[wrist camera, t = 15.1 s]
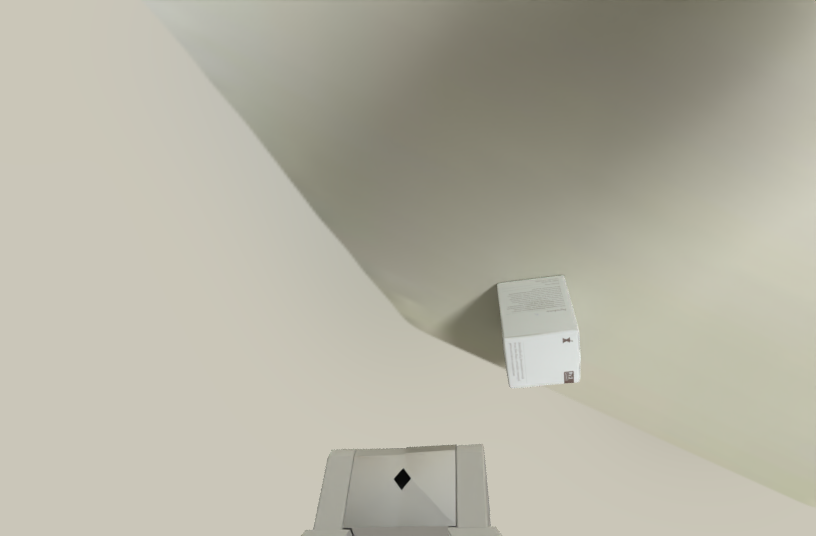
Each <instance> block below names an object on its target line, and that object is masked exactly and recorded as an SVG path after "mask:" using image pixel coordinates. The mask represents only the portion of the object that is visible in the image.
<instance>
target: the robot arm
mask: <svg viewBox="0 0 816 536" xmlns="http://www.w3.org/2000/svg"><path fill="white" fill-rule="evenodd" d="M301 536H502V535H501V533H500V532H499V531H498V529H497V528H496V527H491V524H490V508H489V496H488V486H487V475H486V465H485V455H484V446H483V444H476V445H459V446H457V445H441V446H422V447H407V448H390V449H343V450H331V453H330V455H329V457H328V459H327V464H326V469H325V474H324V479H323V484H322V489H321V494H320V498H319V504H318V508H317V514H316V518H315V523H314V528H313V530H306V531H305V532H304V533H303V534H302V535H301Z"/></svg>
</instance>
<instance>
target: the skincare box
mask: <svg viewBox="0 0 816 536" xmlns="http://www.w3.org/2000/svg"><path fill="white" fill-rule="evenodd" d="M497 293H498V301H499V309H500V318H501V328H502V339H503V349H504V357H505V364H506V371H507V376H508V382H509V387H510V388H523V387H533V386H542V385H553V384H564V383H575V382H579V381H580V360H581V357H580V336H579V329H578V325H577V321H576V317H575V314H574V310H573V306H572V303H571V299H570V295H569V291H568V288H567V285H566V281H565V277H564V276H563V275H560V276H550V277H543V278H535V279H527V280H519V281H510V282H503V283H498V284H497Z"/></svg>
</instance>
